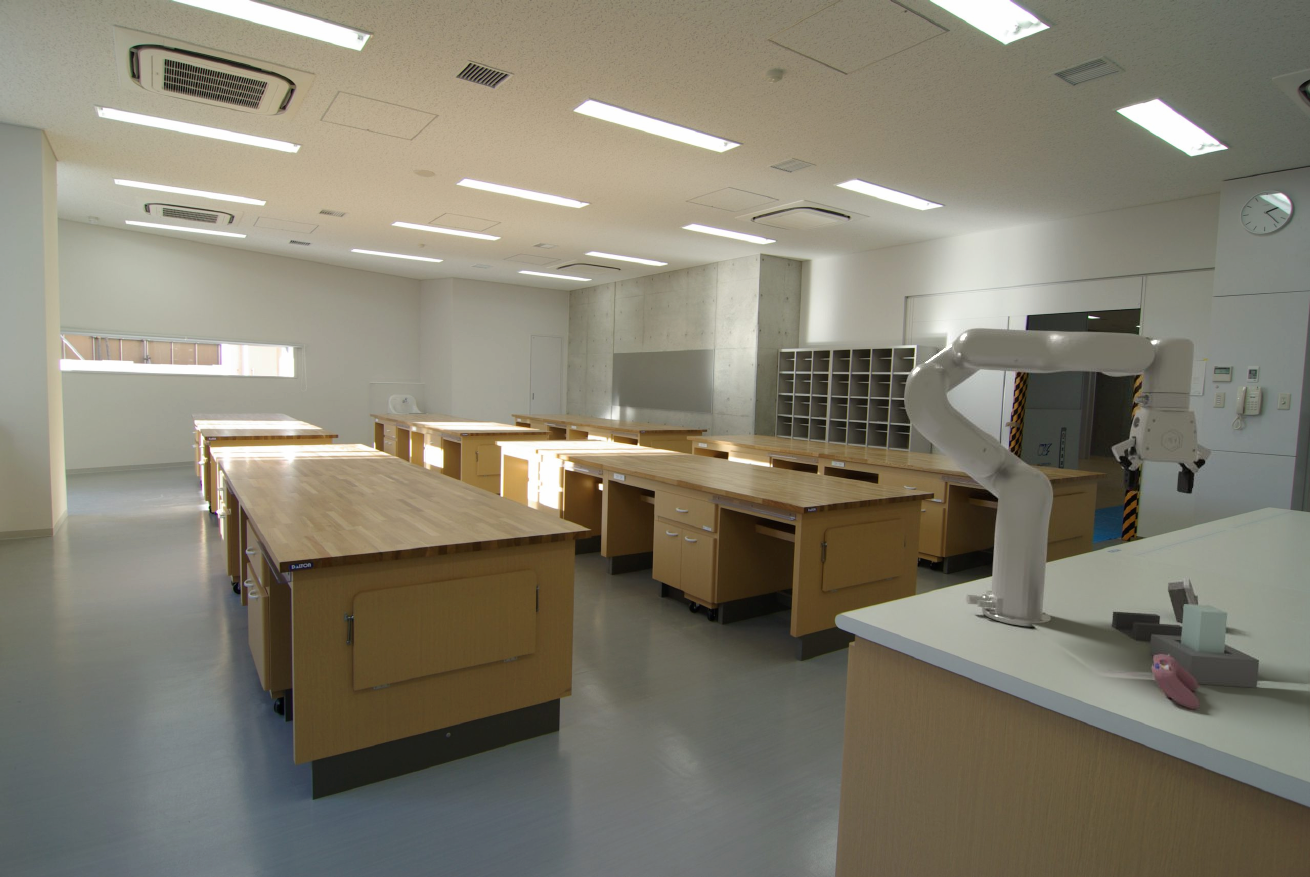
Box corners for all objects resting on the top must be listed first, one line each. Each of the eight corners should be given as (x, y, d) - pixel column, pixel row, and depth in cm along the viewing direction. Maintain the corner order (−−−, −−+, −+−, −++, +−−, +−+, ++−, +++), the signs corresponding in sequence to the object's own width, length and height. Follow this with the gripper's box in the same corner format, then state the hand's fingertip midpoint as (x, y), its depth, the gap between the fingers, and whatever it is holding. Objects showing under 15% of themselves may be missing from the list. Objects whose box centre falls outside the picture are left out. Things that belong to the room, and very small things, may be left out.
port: (1189, 683, 107) (1192, 653, 106) (1149, 659, 116) (1151, 631, 116) (1256, 687, 106) (1259, 657, 105) (1210, 663, 116) (1212, 635, 115)
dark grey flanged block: (1136, 645, 123) (1137, 624, 123) (1110, 630, 131) (1112, 611, 131) (1182, 648, 123) (1183, 627, 122) (1153, 633, 130) (1155, 613, 130)
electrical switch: (1202, 633, 132) (1200, 586, 132) (1169, 629, 135) (1167, 583, 136) (1201, 622, 140) (1199, 578, 140) (1170, 618, 143) (1168, 575, 143)
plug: (1196, 670, 109) (1201, 611, 109) (1178, 661, 113) (1183, 603, 113) (1222, 672, 109) (1227, 612, 108) (1204, 662, 113) (1209, 605, 112)
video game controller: (1167, 693, 106) (1145, 649, 108) (1201, 688, 104) (1178, 644, 105) (1165, 714, 99) (1142, 667, 100) (1202, 709, 96) (1178, 661, 97)
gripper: (1129, 401, 124) (1122, 492, 125) (1227, 404, 123) (1220, 496, 124) (1105, 401, 132) (1099, 487, 133) (1198, 404, 130) (1191, 491, 131)
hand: (1157, 491), depth 128 cm, fingers open, 9 cm apart
